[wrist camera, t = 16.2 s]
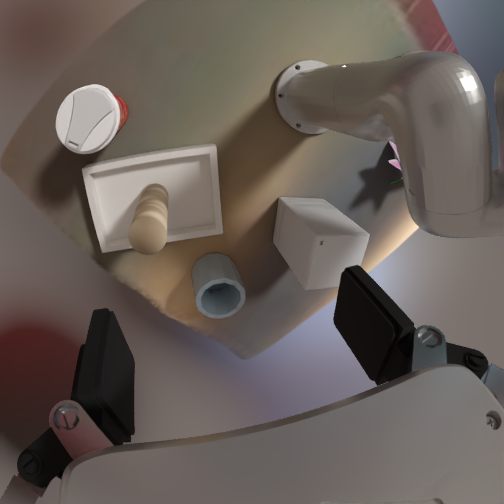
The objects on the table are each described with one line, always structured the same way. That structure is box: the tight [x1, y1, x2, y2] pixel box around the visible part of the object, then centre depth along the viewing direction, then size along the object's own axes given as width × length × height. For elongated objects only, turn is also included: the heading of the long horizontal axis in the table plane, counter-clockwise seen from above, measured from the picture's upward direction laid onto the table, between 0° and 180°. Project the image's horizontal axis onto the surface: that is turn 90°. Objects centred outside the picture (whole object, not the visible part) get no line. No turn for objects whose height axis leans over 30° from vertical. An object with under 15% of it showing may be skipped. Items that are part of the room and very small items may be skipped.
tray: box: [82, 143, 223, 253], centre depth 42 cm, size 20×14×3 cm
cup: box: [191, 253, 246, 319], centre depth 50 cm, size 8×8×8 cm
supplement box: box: [273, 197, 370, 290], centre depth 46 cm, size 9×9×15 cm
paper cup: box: [56, 84, 128, 154], centre depth 30 cm, size 8×8×14 cm
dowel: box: [128, 183, 169, 255], centre depth 37 cm, size 4×4×14 cm
